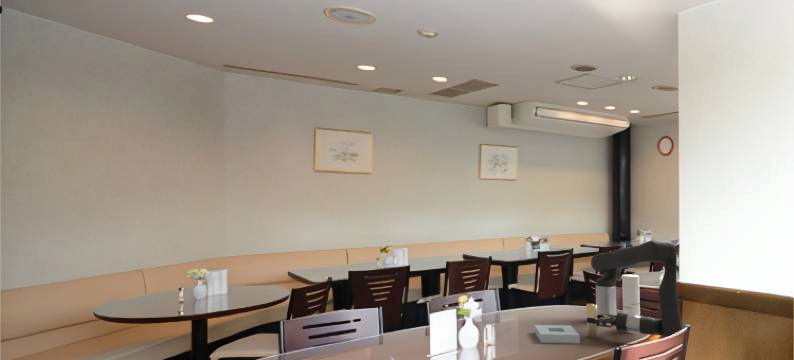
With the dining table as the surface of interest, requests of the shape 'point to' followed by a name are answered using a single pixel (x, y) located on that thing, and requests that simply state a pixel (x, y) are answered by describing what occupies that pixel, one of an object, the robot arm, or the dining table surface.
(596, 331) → the yellow tall cylinder
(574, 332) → the jig
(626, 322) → the robot arm
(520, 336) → the dining table surface
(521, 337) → the dining table surface
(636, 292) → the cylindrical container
